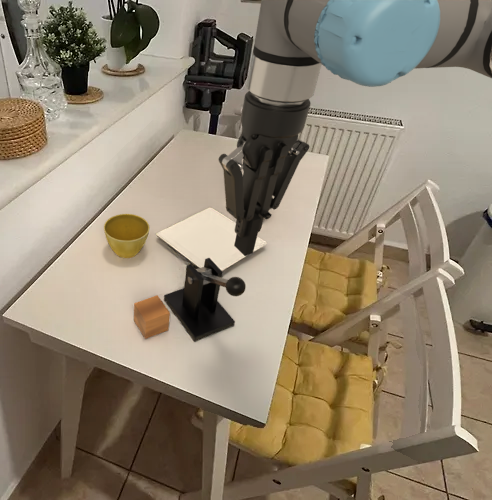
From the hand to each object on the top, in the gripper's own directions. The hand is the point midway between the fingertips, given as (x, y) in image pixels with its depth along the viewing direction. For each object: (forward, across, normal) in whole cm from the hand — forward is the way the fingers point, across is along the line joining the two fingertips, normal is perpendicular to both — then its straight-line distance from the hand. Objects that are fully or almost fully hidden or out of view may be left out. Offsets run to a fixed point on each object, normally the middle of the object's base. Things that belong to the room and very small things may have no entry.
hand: (243, 249), depth 65 cm
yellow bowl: (+23, +5, -31) cm, 39 cm away
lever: (+12, 0, -3) cm, 12 cm away
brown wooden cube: (+23, +10, -9) cm, 27 cm away
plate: (+23, -14, -25) cm, 37 cm away
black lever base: (+23, 0, -8) cm, 24 cm away
